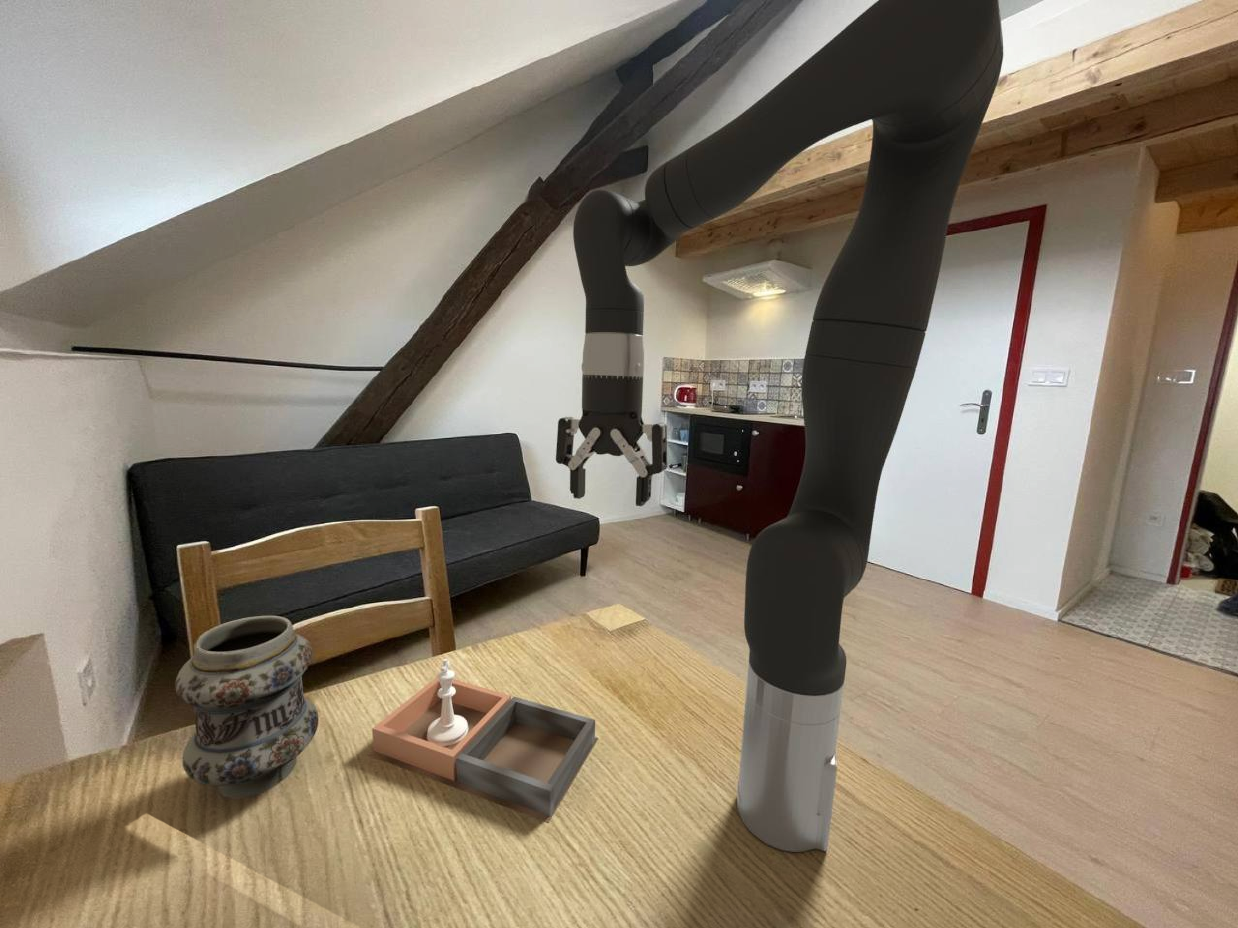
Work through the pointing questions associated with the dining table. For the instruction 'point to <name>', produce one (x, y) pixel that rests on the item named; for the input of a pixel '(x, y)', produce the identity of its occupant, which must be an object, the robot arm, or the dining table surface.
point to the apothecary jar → (247, 705)
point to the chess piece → (447, 713)
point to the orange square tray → (426, 753)
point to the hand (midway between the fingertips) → (609, 501)
